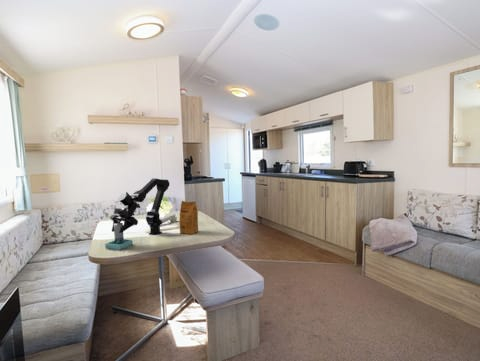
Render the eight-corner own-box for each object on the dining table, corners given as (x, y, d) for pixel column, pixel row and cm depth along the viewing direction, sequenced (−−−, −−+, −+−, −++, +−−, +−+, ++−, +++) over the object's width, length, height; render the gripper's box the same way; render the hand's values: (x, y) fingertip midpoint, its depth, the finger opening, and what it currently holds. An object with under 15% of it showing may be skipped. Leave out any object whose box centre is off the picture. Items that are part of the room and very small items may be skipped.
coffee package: (185, 229, 202) (183, 199, 200) (200, 231, 198) (199, 200, 196) (177, 233, 193) (175, 202, 191) (193, 235, 189) (191, 202, 187)
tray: (119, 243, 176) (118, 238, 175) (132, 244, 172) (132, 239, 172) (105, 248, 166) (105, 243, 165) (119, 250, 162) (119, 245, 162)
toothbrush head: (148, 222, 213) (173, 212, 232) (149, 230, 214) (174, 219, 234) (152, 223, 210) (177, 212, 229) (154, 231, 211) (178, 220, 231)
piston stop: (122, 243, 172) (121, 222, 172) (125, 244, 169) (123, 223, 168) (113, 245, 169) (112, 223, 169) (116, 246, 165) (115, 224, 165)
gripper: (111, 201, 174) (96, 223, 165) (132, 203, 166) (118, 226, 157) (122, 211, 182) (109, 233, 173) (143, 213, 173) (130, 236, 165)
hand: (116, 232), depth 167 cm, fingers open, 7 cm apart
